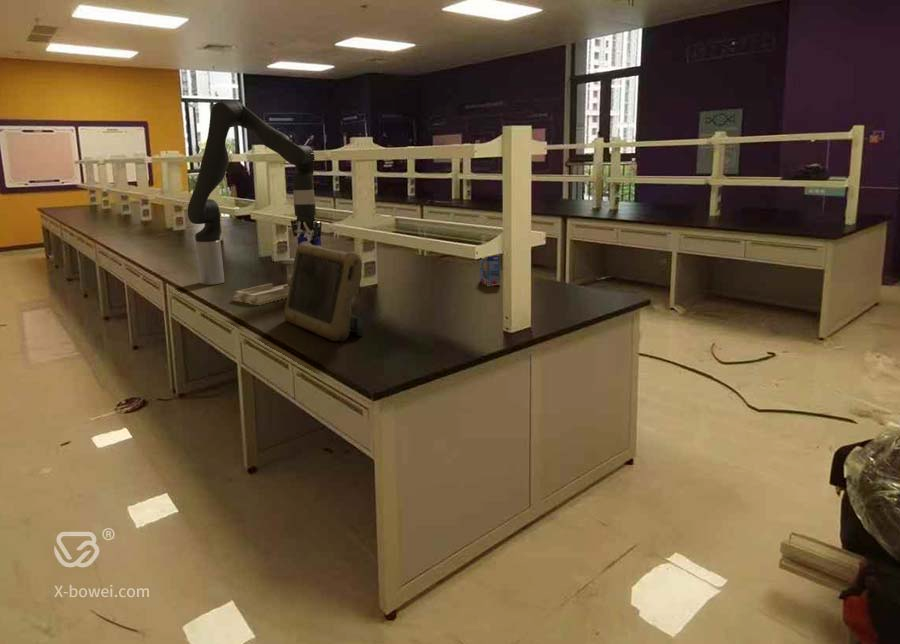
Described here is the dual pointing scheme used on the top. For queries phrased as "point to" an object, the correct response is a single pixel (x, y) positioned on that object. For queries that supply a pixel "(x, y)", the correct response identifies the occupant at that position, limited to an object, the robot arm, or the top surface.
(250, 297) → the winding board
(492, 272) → the ink cartridge box
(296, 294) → the tablet
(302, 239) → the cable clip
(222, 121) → the robot arm
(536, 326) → the top surface
